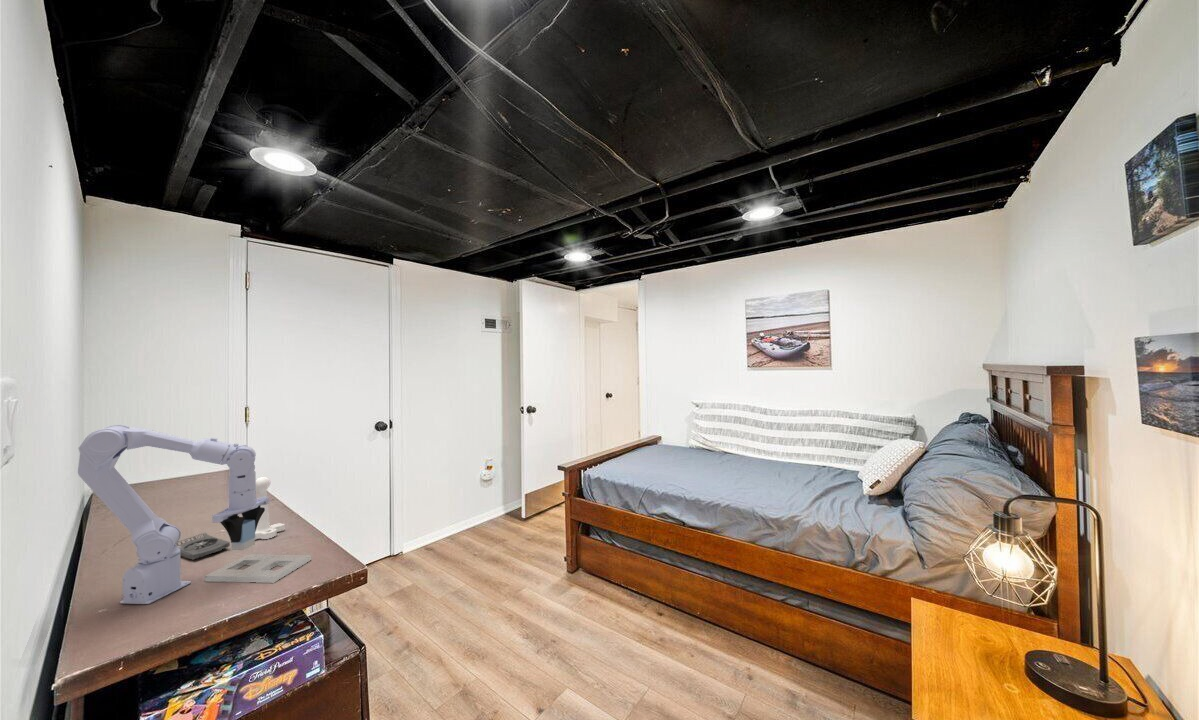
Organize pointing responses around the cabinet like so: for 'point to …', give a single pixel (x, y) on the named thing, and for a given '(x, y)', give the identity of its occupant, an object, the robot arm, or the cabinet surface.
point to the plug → (246, 536)
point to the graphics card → (201, 546)
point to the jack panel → (258, 568)
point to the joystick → (265, 513)
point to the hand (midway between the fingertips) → (243, 538)
